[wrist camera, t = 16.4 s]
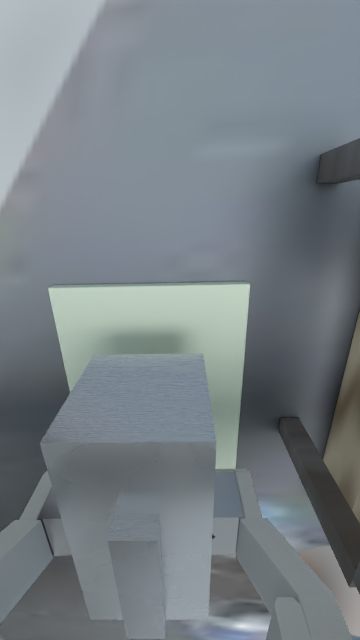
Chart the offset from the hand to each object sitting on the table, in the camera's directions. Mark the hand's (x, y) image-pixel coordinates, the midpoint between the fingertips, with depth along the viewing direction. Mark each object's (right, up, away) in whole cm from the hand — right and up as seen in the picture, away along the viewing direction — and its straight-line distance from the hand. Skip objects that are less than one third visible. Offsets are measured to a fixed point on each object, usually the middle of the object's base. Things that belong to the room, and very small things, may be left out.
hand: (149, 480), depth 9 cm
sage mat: (0, +2, +5) cm, 5 cm away
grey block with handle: (0, +1, +2) cm, 2 cm away
